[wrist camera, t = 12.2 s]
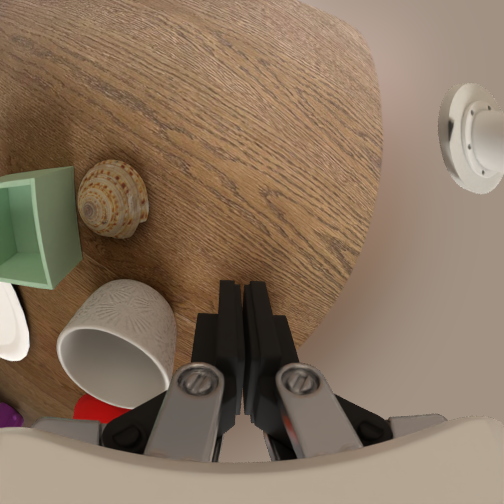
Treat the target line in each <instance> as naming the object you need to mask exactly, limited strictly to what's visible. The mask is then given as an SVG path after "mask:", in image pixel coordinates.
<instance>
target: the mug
mask: <svg viewBox="0 0 504 504" xmlns="http://www.w3.org/2000/svg"><path fill="white" fill-rule="evenodd" d="M23 422H24V420H23V418H22V416H21V415H20V414H19V413H18V412H17V411H16V410H14V409H13V408H12V407H11V406H9V405H8V404H6V403H3V402H1V404H0V428H4V427H21V426H22V424H23Z"/></svg>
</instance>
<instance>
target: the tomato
mask: <svg viewBox="0 0 504 504" xmlns="http://www.w3.org/2000/svg"><path fill="white" fill-rule="evenodd" d="M130 410H132V409H127V408H121V407H117V406H114V405H111V404H108V403H105V402H103V401H101V400H99V399H97V398H95V397H93V396H92V395H90V394H89V393H88V394H85V395H83V396H82V397H81V398H80V399H79V401H78V402H77V404H76V406H75V410H74V416H73V419H80V420H99V421H100V422H101V423H109V422H110V421H112V420H113V419H115V418H117V417H119V416H120V415H122V414H124V413H126V412H128V411H130Z"/></svg>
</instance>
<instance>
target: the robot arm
mask: <svg viewBox="0 0 504 504" xmlns="http://www.w3.org/2000/svg"><path fill="white" fill-rule="evenodd" d="M461 139H462V146H463V151H464V154H465V158H466V160H467V162H468V164H469V166H470V168H471V169H472V170H473V172H474V173H475V174H477V175H478V176H481V177H484V178H491V177H493V176H494V175H495V174H496V173H497V172H499V173H503V174H504V112H499V111H495V110H494V108H493V107H492V106H491V105H490V104H488V103H487V102H484V101H473V102H471V103H470V104H469V105H468V106H467V108H466V110H465V112H464V115H463V118H462V125H461ZM242 388H243V400H244V413H245V415H250V416H251V423H254V424H255V426H257V427H259V428H260V429H261V430H263V435H264V439H265V442H266V446H267V449H268V452H269V455H270V458H271V462H252V463H219V462H220V456H221V450H222V444H223V439H224V433H225V432H227V431H228V430H229V429H230V428H232V427H233V426H234V425H235V415H240V408H241V398H242ZM0 504H504V426H503V424H502V423H501V422H499V421H498V420H496V419H494V418H491V417H484V416H470V417H462V418H457V419H453V420H449V421H448V420H447V419H446V418H445V417H444V416H442V415H439V414H426V415H416V416H401V417H389V419H388V420H384V419H383V418H381V417H380V416H378V415H376V414H374V413H372V412H369V411H368V410H366V409H363V408H361V407H359V406H357V405H355V404H353V403H351V402H349V401H347V400H345V399H343V398H341V397H340V396H337V395H335V394H334V393H333V391H332V390H331V388H330V386H329V384H328V382H327V381H326V379H325V377H324V375H323V374H322V373H321V372H320V370H318V369H317V368H315V367H314V366H311V365H309V364H305V363H299V359H298V356H297V352H296V349H295V345H294V342H293V338H292V335H291V332H290V328H289V325H288V321H287V318H286V316H285V315H272V310H271V306H270V302H269V297H268V293H267V289H266V284H265V282H261V281H250V284H249V285H244V294H243V307H242V304H241V291H240V285H238V284H235V282H234V281H232V280H220V290H219V309H218V314H208V313H198V316H197V323H196V329H195V336H194V343H193V351H192V358H191V363H188V364H185V365H183V366H181V367H180V368H178V369H177V370H176V372H175V373H174V375H173V377H172V379H171V382H170V384H169V387H168V390H166V391H164V392H163V393H161V394H159V395H157V396H156V397H154V398H152V399H150V400H148V401H147V402H145V403H143V404H141V405H139V406H137V407H136V408H134V409H132V410H130V411H128V412H126V413H124V414H122V415H120V416H119V417H117V418H115V419H113V420H112V421H110V422H109V423H101V422H100V421H99V420H80V419H67V418H57V417H41V418H39V419H37V420H36V421H35V422H34V423H33V425H32V427H31V428H24V427H4V428H0Z"/></svg>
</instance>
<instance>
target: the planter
mask: <svg viewBox="0 0 504 504" xmlns="http://www.w3.org/2000/svg"><path fill="white" fill-rule="evenodd" d="M176 334H177V329H176V321H175V317H174V313H173V311H172V309H171V307H170V305H169V304H168V302H167V301H166V300H165V298H164V297H163V296H162V295H161V294H160V293H158V292H157V291H156V290H155V289H153V288H152V287H150V286H148V285H146V284H144V283H141V282H139V281H135V280H130V279H119V280H114V281H110V282H108V283H106V284H104V285H102V286H101V287H100V288H98V289H97V290H96V291H95V292H94V293H93V294H92V295H91V296H90V297H89V298H88V299H87V300H86V301H85V302H84V304H83V305H82V306H81V307H80V308H79V310H78V311H77V312H76V314H75V315H74V316H73V317H72V319H71V320H70V321H69V323H68V324H67V325H66V327H65V328H64V330H63V331H62V332H61V334H60V335H59V337H58V340H57V354H58V357H59V360H60V363H61V365H62V366H63V368H64V370H65V371H66V373H67V374H68V375H69V377H70V378H71V379H72V380H73V381H74V382H75V383H76V384H77V385H78V386H79V387H80V388H82V389H83V390H84V391H86V392H87V393H89V394H90V395H92V396H93V397H95V398H97V399H99V400H101V401H103V402H105V403H108V404H111V405H114V406H117V407H121V408H127V409H134V408H136V407H137V406H139V405H141V404H143V403H145V402H147V401H148V400H150V399H152V398H154V397H156V396H157V395H159V394H161V393H163V392H164V391H166V390H168V387H169V384H170V382H171V378H172V371H173V363H174V356H175V348H176Z"/></svg>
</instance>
